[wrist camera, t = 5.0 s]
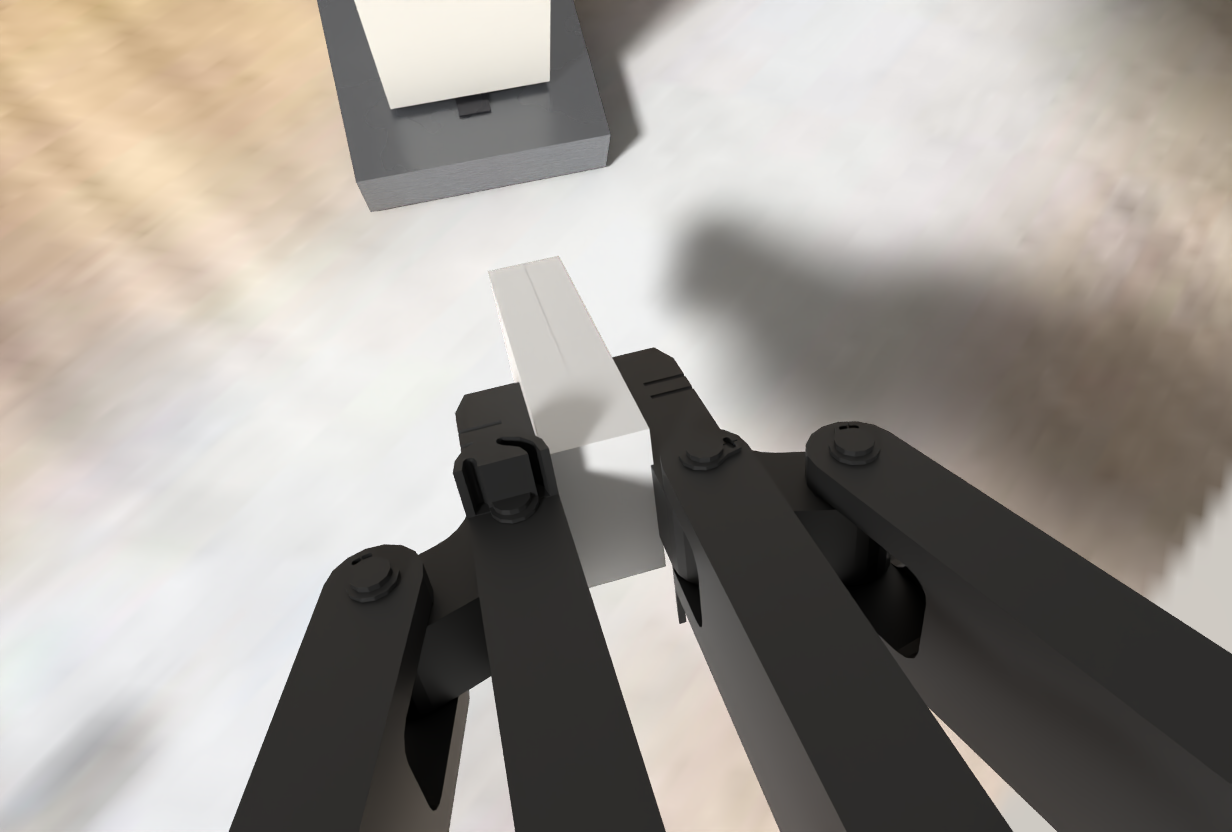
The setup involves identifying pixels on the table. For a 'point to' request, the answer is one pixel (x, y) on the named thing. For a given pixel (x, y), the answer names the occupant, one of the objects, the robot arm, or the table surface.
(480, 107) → the grey slotted track base
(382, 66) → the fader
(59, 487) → the table surface
